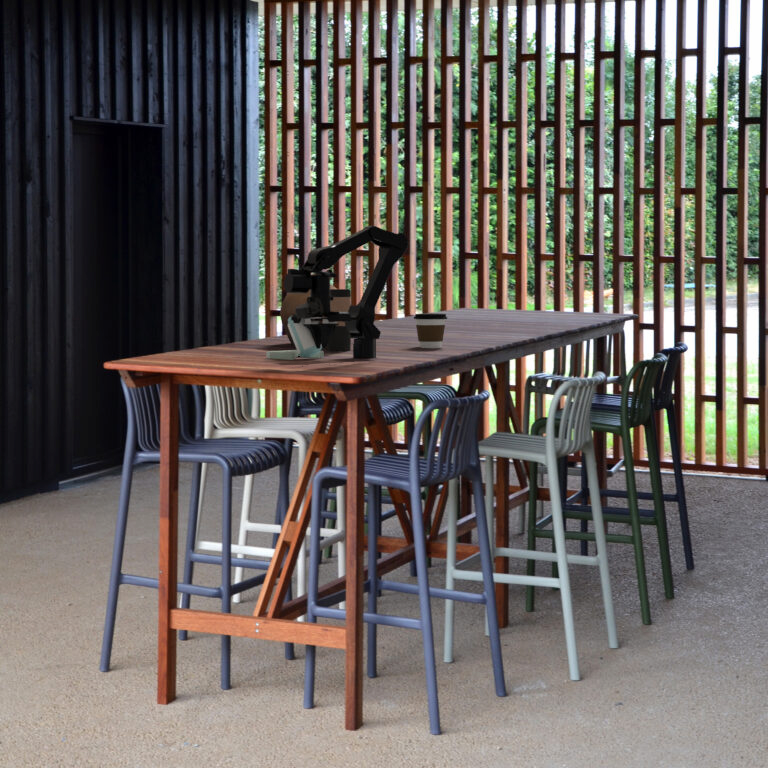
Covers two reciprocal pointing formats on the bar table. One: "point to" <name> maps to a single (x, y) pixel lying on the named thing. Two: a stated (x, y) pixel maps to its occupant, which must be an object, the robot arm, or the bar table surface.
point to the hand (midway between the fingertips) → (321, 348)
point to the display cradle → (289, 355)
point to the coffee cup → (430, 329)
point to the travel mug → (340, 335)
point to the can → (302, 339)
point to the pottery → (289, 308)
